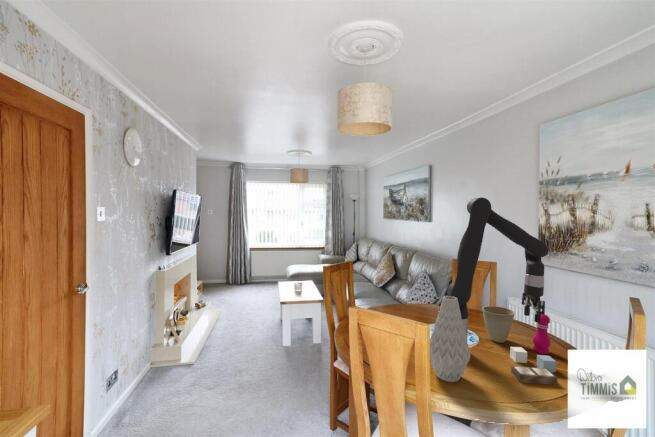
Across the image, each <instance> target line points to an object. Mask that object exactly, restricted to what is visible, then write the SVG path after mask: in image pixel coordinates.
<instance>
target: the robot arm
mask: <svg viewBox="0 0 655 437" xmlns="http://www.w3.org/2000/svg"><path fill="white" fill-rule="evenodd" d="M466 209H467V213H468V214H469V220H468V225H467V227H466V230H465V231H464V233H463V235H462V237H461V240H460V243H459V246H458V251H457V255H456V256H457V257H456V268H457V269H456V277H455V281H453V282H451V283H450V284H449V285H448V286H447V290H446V296H452V297H456V298H457V299H458V303H459V308H460V312H461V318H462V322H463V325H464V330H465V333H466V337H467V338H468V337H469V336H468V334H469V333H468V331H469V328H468V327H469V311H468V306H467V305H468V304H467V303H469V301H470V300H471V297H472V288H473V282H474V281H473V279H474V277H475V273H476V269H477V264H478V262H479V257H480V254H481V250H482V244H483V239H484V235H485V228H486V225H487V224H488V225H490V226H491V227H492V228H494V229H495V230H496V231H497V232H499V233H501V234H502V235H503V236H504V237H506V238H507V239H509V241H511V242H512V243H514V244H516V245H517V246H520V247H522V248H523V249H524V257H525V262H526V263H525V264H526V265H525V276H524V283H523V284H524V285H523V292H522V294H521V295H522V297H521V305H522V306H523V308H524V309H523V315H524V316H525V317H530V315H531V308H532V310H533V311H534V322H535V323H540V319H541V314H545V315H546V301H545V300H541V297H543V296H544V293H545V292H544V291H545V290H544V289H545V264H544V263H543V262H542V258H544V257H546V256H547V255H548V253H549V247H548V245H547V244H546V243H544V242H543V241H542V240H541V239H539V238H536V237H535V236H533V235H531V234H529V232H527V231H526V230H524V229H523V228H522V227H520V226H518V224H516V223H514V222H512V221H510V220H509V219H506V218H505V217H503V216H501V215H500V214H498V213H496V212H495V211H494V210H493V209H492V204H491V201H490V200H489V199H488V198H486V197H475V198H472V199H470V200H469V201H468V202H467V205H466Z"/></svg>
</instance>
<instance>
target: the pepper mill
mask: <svg viewBox="0 0 655 437" xmlns="http://www.w3.org/2000/svg"><path fill="white" fill-rule="evenodd" d="M550 323H551V319H550V316H548V315H547V314H546V313H545V314H541V319H540V323H537V322H535V326H536V333H535V334H534V336H533V337H532V343H533V351H534V352H536V353H538V354H540V355H548V354H549V353H550V347H551V344H552V343H551V340H550V337H549V335H548V329H549V324H550Z"/></svg>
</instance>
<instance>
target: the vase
mask: <svg viewBox="0 0 655 437" xmlns="http://www.w3.org/2000/svg"><path fill="white" fill-rule="evenodd" d="M429 341H430V356H429V357H430V363H431V366H432V368H433V370H434V372H435V375H436V377H437V378H439V379H440V380H442V381H444V382H448V383H456V382H459V380H460V379H461V377H462V375H464V373H465V370H466V369H467V365H468V363H469V362H470V358H471V352H470V346H469V344H468V336H467V337H466V333H465V330H464V325H463V322H462V318H461V312H460V308H459V303H458V299H457V298H456V297H452V296H447V295H444V296H442V300H441V304H440V306H439V311H438V313H437V317H436V320H435V322H434V325H433V329H432V333H431V335H430V338H429Z"/></svg>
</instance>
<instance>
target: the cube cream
mask: <svg viewBox="0 0 655 437" xmlns="http://www.w3.org/2000/svg"><path fill="white" fill-rule="evenodd" d="M509 358H510V359H511V360H512V361H513V362H514V363H518V364H519V363H523V364H528V351H526V350H525V348H523V347H522V346H510V349H509Z"/></svg>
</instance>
